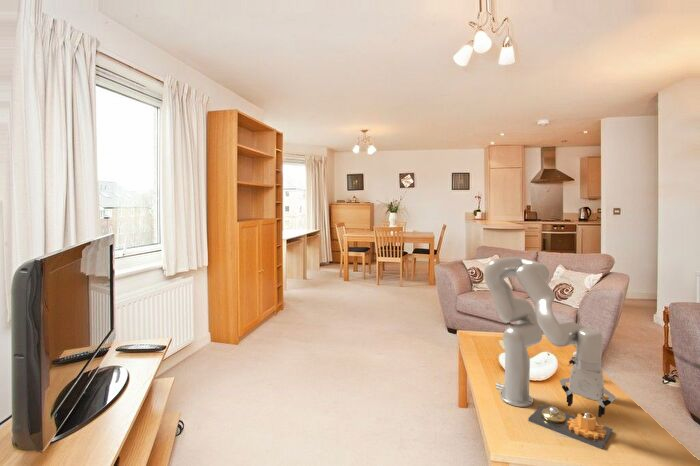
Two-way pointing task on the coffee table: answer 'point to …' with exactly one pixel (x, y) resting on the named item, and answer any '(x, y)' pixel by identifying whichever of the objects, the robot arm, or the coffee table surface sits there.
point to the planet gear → (586, 426)
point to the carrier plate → (565, 424)
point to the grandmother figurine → (572, 360)
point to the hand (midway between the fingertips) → (584, 410)
